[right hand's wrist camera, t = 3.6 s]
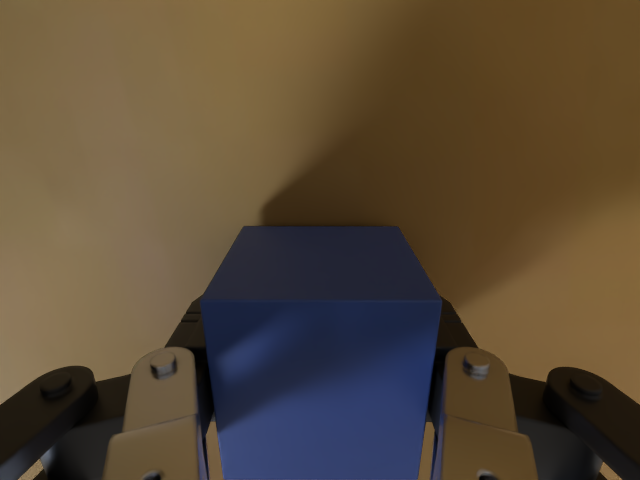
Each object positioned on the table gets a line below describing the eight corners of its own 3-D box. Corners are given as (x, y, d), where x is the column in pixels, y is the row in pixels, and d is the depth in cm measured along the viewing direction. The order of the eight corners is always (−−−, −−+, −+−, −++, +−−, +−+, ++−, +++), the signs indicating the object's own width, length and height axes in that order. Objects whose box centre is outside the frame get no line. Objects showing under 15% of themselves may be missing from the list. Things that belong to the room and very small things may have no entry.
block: (398, 225, 12) (443, 300, 7) (387, 360, 14) (418, 481, 9) (242, 225, 12) (198, 300, 7) (253, 359, 14) (222, 481, 9)
